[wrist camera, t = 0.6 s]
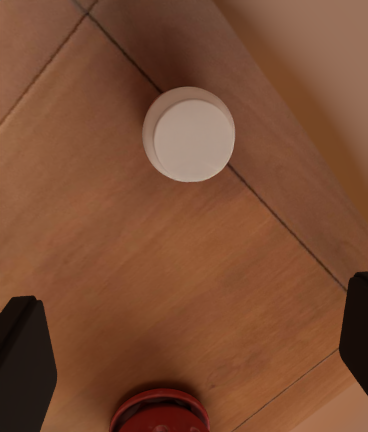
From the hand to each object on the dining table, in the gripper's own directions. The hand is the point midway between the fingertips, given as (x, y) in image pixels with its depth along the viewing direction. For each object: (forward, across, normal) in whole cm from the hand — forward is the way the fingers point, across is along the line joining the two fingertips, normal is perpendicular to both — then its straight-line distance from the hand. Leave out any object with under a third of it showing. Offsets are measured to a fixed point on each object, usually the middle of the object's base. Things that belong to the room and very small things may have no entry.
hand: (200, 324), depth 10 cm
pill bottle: (+22, -1, -4) cm, 22 cm away
